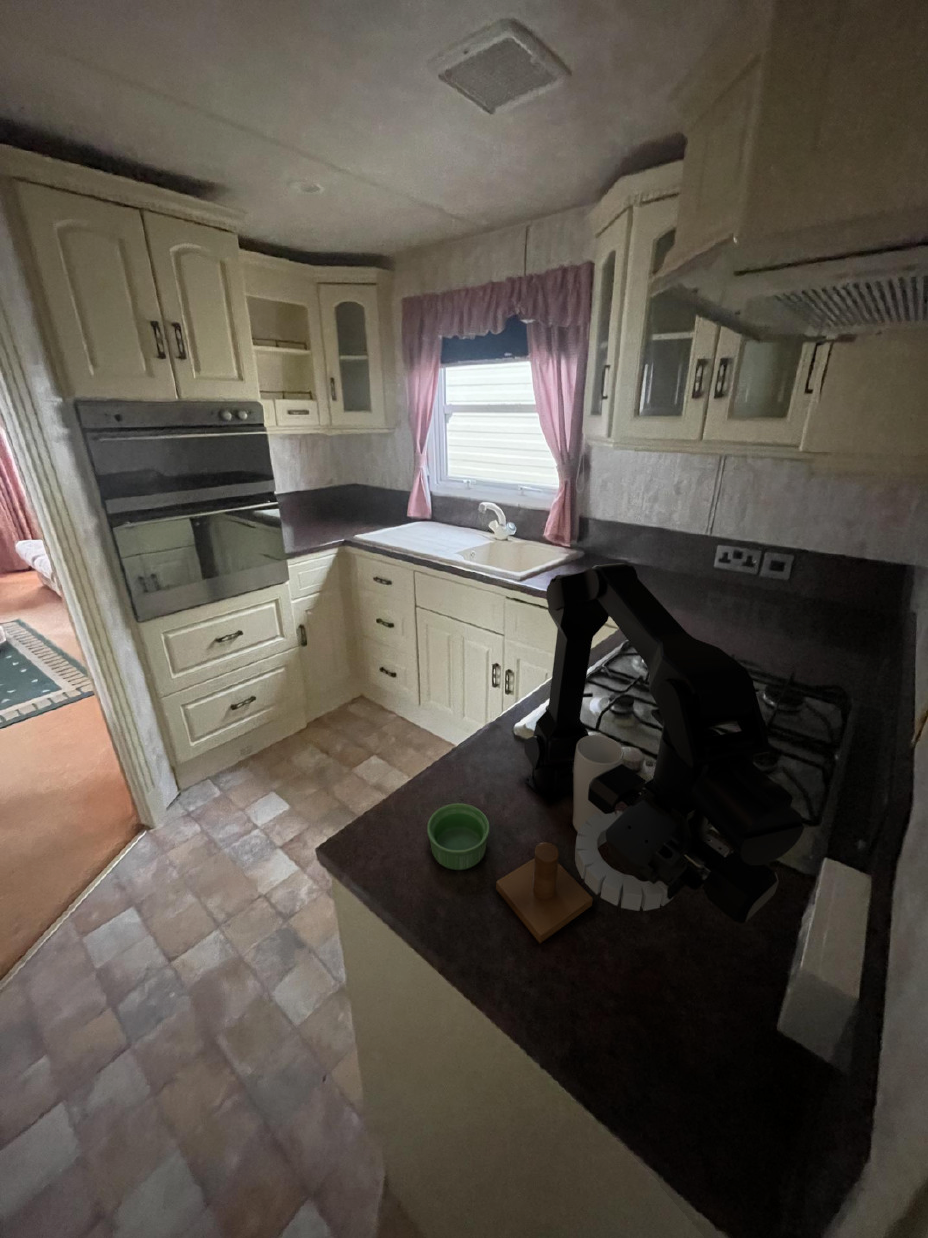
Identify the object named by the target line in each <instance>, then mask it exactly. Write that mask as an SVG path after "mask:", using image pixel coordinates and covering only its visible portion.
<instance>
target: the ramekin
mask: <svg viewBox="0 0 928 1238" xmlns="http://www.w3.org/2000/svg"><path fill="white" fill-rule="evenodd" d="M426 830H427V831H426V832H427V836H428V839H429V842H430V847H431V848H430V849H431V852H432V853H431V854H432V856H433V857H434V859H435V860H436V862H437V863H439V864H440V865H441V866H442V867H444V868H447V869H451V870H455V871H460V870H461V871H463V870H467V869H470V868H472V867H474V866H476V865H477V864H478V863H480V861H481V860H482V859H483V858H484V856H485V853H486V850H487V842H488V838H489V834H490V822H489V819H488V817H487V816H486V815H485V813H484V812H482V811H481V810H480V809H479V808H477V807H475V806H473V805H471V804H467V803H460V802H459V803H450V804H447V805H444V806H442V807H440V808H438V809H437V810H436V811H434V812H433V813H432V815H431V816H430V817H429V820H428V822H427V826H426Z"/></svg>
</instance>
